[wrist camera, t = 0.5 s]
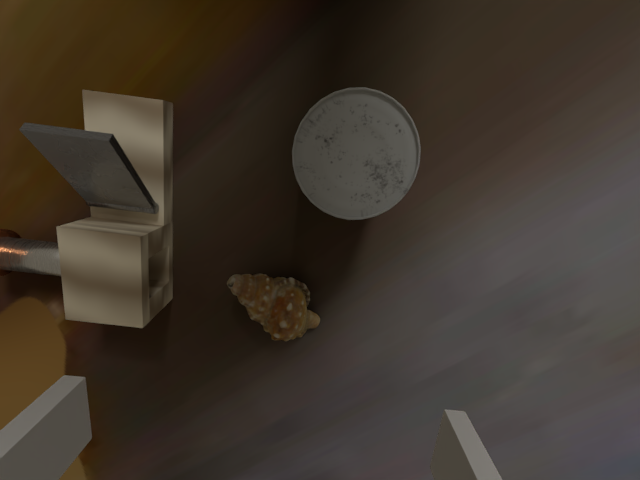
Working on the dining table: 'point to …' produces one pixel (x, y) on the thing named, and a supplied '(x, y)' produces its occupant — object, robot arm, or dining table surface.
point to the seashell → (275, 304)
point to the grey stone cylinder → (356, 153)
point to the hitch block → (124, 222)
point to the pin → (27, 255)
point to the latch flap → (93, 167)
